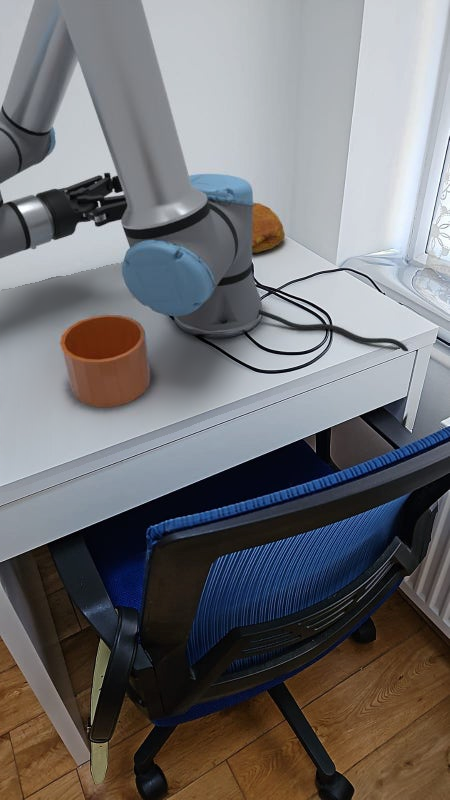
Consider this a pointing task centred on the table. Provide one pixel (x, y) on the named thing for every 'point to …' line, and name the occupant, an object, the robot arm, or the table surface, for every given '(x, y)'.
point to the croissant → (265, 229)
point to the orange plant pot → (106, 360)
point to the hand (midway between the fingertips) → (158, 182)
